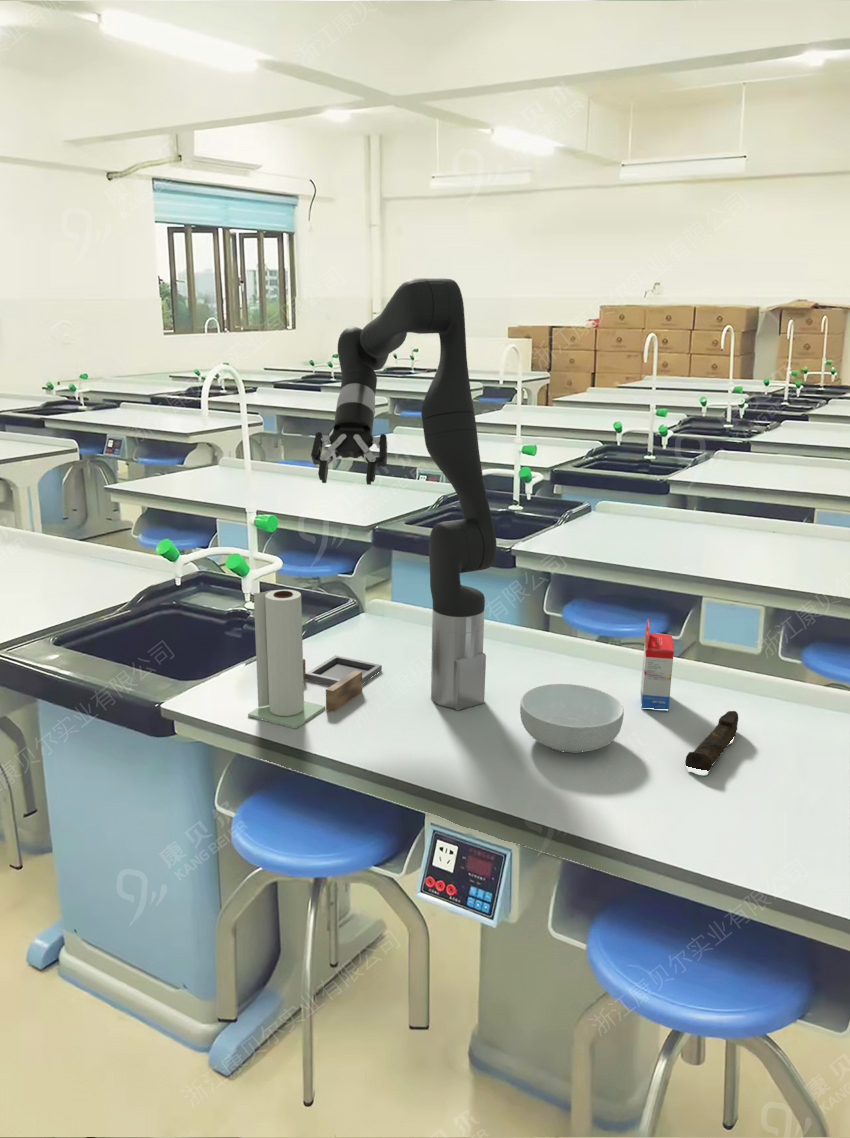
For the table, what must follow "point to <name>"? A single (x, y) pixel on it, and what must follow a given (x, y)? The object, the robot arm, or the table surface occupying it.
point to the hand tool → (714, 743)
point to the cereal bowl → (571, 717)
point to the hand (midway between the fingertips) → (346, 481)
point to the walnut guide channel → (341, 689)
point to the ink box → (656, 670)
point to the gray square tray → (341, 670)
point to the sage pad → (289, 721)
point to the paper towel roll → (279, 651)
